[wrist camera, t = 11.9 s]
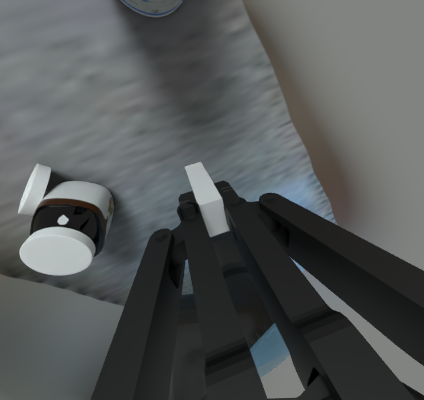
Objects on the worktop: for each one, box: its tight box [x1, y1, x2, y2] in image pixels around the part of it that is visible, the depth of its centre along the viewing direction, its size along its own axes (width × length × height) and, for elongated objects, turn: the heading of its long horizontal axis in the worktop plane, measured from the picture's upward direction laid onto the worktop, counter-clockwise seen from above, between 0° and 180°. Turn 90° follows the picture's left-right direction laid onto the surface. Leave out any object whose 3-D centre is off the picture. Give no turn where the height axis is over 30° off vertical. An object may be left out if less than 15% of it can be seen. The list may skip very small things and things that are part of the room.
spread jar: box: [18, 164, 114, 275], centre depth 24 cm, size 12×11×12 cm
